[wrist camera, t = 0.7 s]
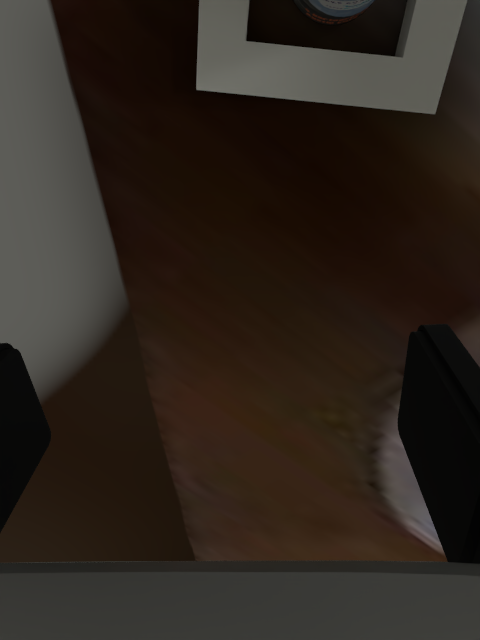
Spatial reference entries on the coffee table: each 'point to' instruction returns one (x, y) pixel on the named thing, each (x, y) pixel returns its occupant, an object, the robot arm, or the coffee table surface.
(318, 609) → the robot arm
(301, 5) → the beverage can
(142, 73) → the coffee table surface
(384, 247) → the coffee table surface
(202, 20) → the can holder
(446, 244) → the coffee table surface
